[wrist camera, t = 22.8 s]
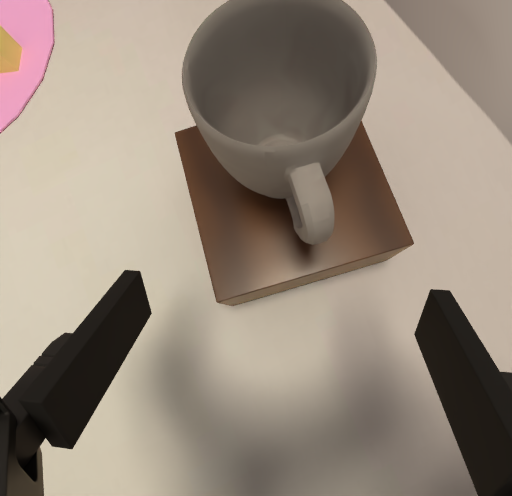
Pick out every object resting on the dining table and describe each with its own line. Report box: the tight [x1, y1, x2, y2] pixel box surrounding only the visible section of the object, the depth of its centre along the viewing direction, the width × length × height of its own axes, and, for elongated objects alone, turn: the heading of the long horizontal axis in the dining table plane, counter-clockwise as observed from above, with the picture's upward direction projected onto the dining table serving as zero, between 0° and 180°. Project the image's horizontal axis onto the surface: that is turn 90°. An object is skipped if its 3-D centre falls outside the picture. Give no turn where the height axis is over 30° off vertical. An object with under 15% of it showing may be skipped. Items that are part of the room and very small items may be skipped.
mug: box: [182, 0, 377, 245], centre depth 18 cm, size 12×9×10 cm
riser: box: [175, 121, 414, 306], centre depth 26 cm, size 14×14×6 cm
